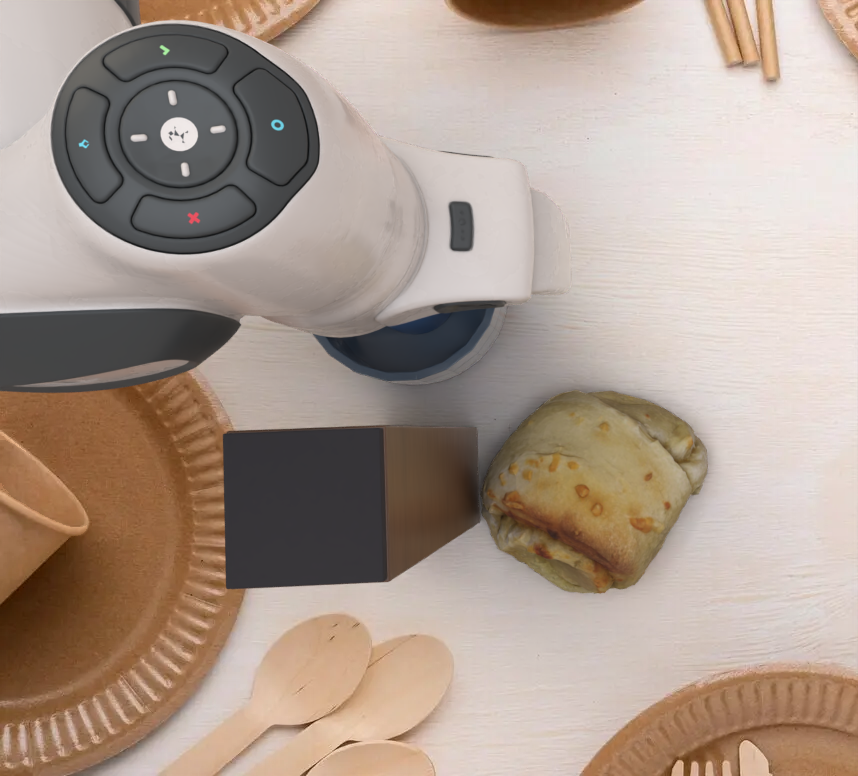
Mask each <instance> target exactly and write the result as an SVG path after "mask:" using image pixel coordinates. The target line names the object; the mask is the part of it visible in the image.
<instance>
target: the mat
mask: <svg viewBox="0 0 858 776" xmlns="http://www.w3.org/2000/svg"><path fill="white" fill-rule="evenodd" d="M222 457H223V458H222V459H223V460H222V461H223V462H222V463H223V464H222V465H223V468H222V469H223V513H224V514H223V517H224V518H223V519H224V561H225V563H224V564H225V589H226V590H244V589H243V588H253V589H265V588H264V587H274V588H287V587H286V586H296V587H308V586H307V585H317V586H329V585H328V584H338V585H351V584H350V583H360V584H372V583H371V582H381V583H384V582H383V581H385V580H387V560H386V523H385V485H384V447H383V428H358V429H331V430H304V431H277V432H250V433H227V432H225V433H223V434H222Z"/></svg>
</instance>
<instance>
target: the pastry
mask: <svg viewBox="0 0 858 776" xmlns="http://www.w3.org/2000/svg"><path fill="white" fill-rule="evenodd" d="M708 467H709V462H708V450H707V448H706V445H705V443H703V441H702V440H701V439H700V438H699V437H698V436H697V435H696V434H695V430H694V428H693V426H691V425H690V424H689V423H688V422H686V421H685V420H683V419H681V418H680V417H678V416H677V415H676V414H674V413H672V412H670V411H669V410H667V409H666V408H664V407H662V406H661V405H658V404H657V403H653V402H651V401H650V400H646V399H644V398H640V397H637V396H632V395H628V394H624V393H619V392H617V391H614V390H600V391H592V392H591V391H590V392H587V393H586V392H584V391H580V390H579V389H573V390H570V391H565V392H561V393H558V394H556V395H554V396H552V397H550V398H548V399H547V400H546V401H545V402H544V403H542V404H541V405H540V406H539V407H537V408H536V409H535V410H534V412H533V413H531V414H529V416H528V417H527V418H526V419H523V420H522V422H521V423H520V424H519V426H518V427H517V428H516V429H515V430H514V432H512V433H511V435H509V437H508V438H507V439H506V440H505V442H504V443H503V444H502V446H501V449H500V450H499V451H498V452H497V454H496V455H495V456H494V458H493V460H492V461H491V463H490V465H489V467H488V469H487V471H486V473H485V477H484V480H483V483H482V485H481V488H480V491H479V497H480V499H481V503H482V505H481V511H480V514H481V515H482V517H483V518H484V520H485V521H486V523H487V527H488V529H489V532H490V536H491V538H492V539H493V540H494V543H495V545H496V548H497V550H499V551H500V552H503V553H504V554H507V555H509V556H512V557H513V558H514V559H515V560H516V561H517V562H520V563H523V564H525V565H527V567H528V568H529V569H531V570H533V571H534V572H535V573H537V574H539V575H540V576H541V577H542V578H544V579H545V580H547V581H548V582H549V583H551V584H552V585H554V586H556V587H558V588H559V589H561V590H562V591H564V592H568V593H579V594H592V593H593V594H594V595H595V594H600V595H601V594H605V593H607V592H608V591H609V590H612V589H616V590H626V589H629V588H630V587H633V586H636V585H637V583H638V582H639V581H640V579H641V578H642V577H643V575H645V573H646V570H647V569H648V567H649V566H650V564H651V563H652V562H653V560H654V559H655V558H656V557H657V556H658V553H660V552H661V550H662V548H663V546H664V544H665V541H666V538H667V536H668V535H669V533H670V532H671V530H672V528H673V527H674V526H675V524H676V523H677V521H678V520H679V518H680V516H681V513H682V511H683V509H684V508H685V506H686V504H687V502H688V500H689V498H690V497H691V496H698V495H700V492H701V490H702V488H703V486H704V483H705V480H706V477H707V475H708V470H709V469H708Z"/></svg>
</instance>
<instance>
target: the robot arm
mask: <svg viewBox="0 0 858 776" xmlns="http://www.w3.org/2000/svg"><path fill="white" fill-rule="evenodd" d="M572 275H573V274H572V247H571V232H570V227H569V223H568V221H567V218H566V216H565V214H564V213H563V211H562V210H561V208H560V207H559V206H558V204H557V203H556V202H555V201H554V199H552V197H551V196H549V195H548V194H547V193H545V192H543V191H541V190H539V189H536V188H533V187H531V185H530V179H529V172H528V169H527V166H526V165H525V164H524V163H523V162H521V161H520V160H516V159H514V158H513V159H512V158H505V157H504V158H503V157H494V156H490V155H479V154H470V153H462V152H453V151H445V150H434V149H431V148H425V147H421V146H418V145H414V144H410V143H407V142H404V141H400V140H398V139H394V138H390V137H386V136H382V135H378V134H377V132H375V131H374V129H373V128H372V127H371V125H370V124H369V122H368V121H367V120H366V118H365V117H364V116H363V115H362V114H361V113H360V112H359V110H357V108H356V107H355V106H354V105H353V104H352V103H351V102H350V101H349V100H348V99H347V98H346V97H345V96H344V95H343V94H342V93H341V92H340V91H339V90H338V89H337V88H336V87H335V86H334V85H333V84H332V83H331V82H330V81H329V80H327V79H326V78H325V77H323V76H322V74H320V73H319V72H317V71H316V70H315V69H313V68H312V67H311V66H310V65H308V64H307V63H305V62H304V61H302V60H301V59H299V58H297V57H295V56H293V55H292V54H290V53H288V52H286V51H285V50H283V49H281V48H279V47H277V46H275V45H274V44H271V43H268V42H266V41H264V40H262V39H261V38H257V37H255V36H253V35H249V34H248V33H245V32H242V31H239V30H236V29H233V28H228V27H225V26H222V25H217V24H212V23H207V22H202V21H196V20H187V19H167V20H165V19H164V20H156V21H151V22H145V23H142V20H141V7H140V0H0V392H9V393H10V392H11V393H31V394H34V393H36V394H69V393H86V392H98V391H99V392H100V391H107V390H116V389H122V388H128V387H134V386H139V385H145V384H147V383H153V382H157V381H161V380H164V379H169V378H172V377H174V376H178V375H180V374H184V373H186V372H189V371H192V370H193V369H194V370H195V369H196V368H198V366H199V365H201V364H202V363H204V362H205V361H207V360H208V359H209V358H210V357H212V356H213V355H214V354H215V353H216V352H218V351H219V350H220V349H222V348H223V347H224V346H225V345H226V344H227V343H229V341H230V340H231V339H232V338H233V337H234V336H235V334H236V333H237V332H238V331H239V329H240V328H241V326H242V323H241V322H240V321H241V319H242V318H243V317H245V316H251V317H252V316H253V317H261V318H263V319H265V320H268V321H270V322H273V323H276V324H279V325H283V326H286V327H289V328H293V329H296V330H299V331H302V332H305V333H309V334H311V335H313V334H316V335H320V336H326V337H340V338H341V337H353V336H360V335H364V334H368V333H371V332H374V331H377V330H379V329H381V328H384V327H386V326H396V325H400V324H404V323H407V322H411V321H414V320H417V319H420V318H424V317H427V316H431V315H435V314H439V313H452V312H459V311H466V310H475V309H486V308H500V307H504V306H507V305H508V306H520V305H521V306H522V305H523V304H527V302H530V300H531V298H532V296H561V295H565V294H568V293H569V292H570V291H571V288H572ZM508 306H507V307H508Z"/></svg>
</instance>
